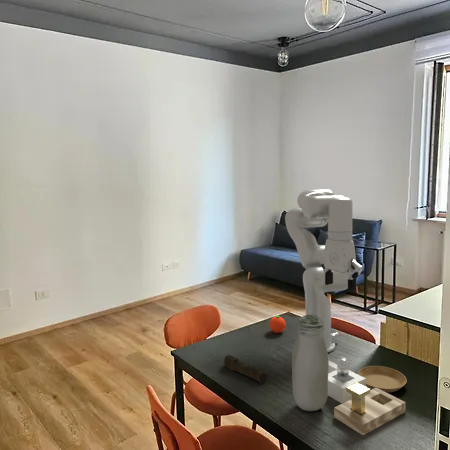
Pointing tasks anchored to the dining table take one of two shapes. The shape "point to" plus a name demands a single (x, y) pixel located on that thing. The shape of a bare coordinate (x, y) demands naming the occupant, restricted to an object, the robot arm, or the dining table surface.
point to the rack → (341, 384)
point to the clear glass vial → (343, 369)
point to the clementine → (277, 324)
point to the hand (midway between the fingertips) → (340, 287)
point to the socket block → (370, 411)
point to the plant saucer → (383, 378)
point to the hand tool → (245, 369)
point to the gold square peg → (358, 397)
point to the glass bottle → (310, 364)
